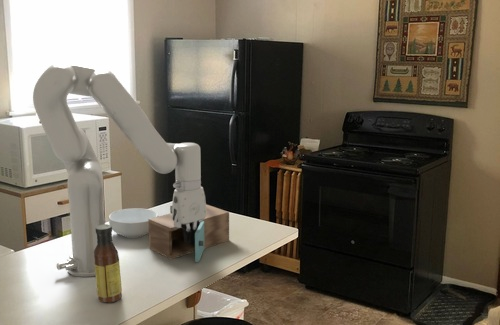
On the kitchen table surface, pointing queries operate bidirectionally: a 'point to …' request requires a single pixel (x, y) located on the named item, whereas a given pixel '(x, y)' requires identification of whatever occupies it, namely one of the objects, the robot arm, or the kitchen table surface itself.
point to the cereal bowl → (131, 221)
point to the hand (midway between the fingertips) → (189, 242)
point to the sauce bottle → (107, 266)
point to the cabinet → (172, 238)
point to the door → (199, 241)
